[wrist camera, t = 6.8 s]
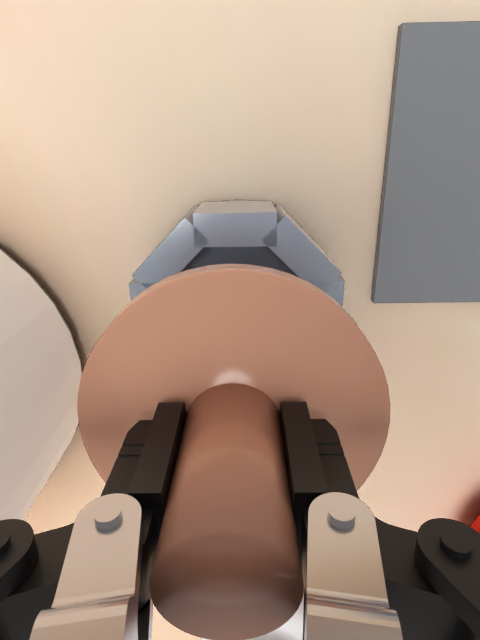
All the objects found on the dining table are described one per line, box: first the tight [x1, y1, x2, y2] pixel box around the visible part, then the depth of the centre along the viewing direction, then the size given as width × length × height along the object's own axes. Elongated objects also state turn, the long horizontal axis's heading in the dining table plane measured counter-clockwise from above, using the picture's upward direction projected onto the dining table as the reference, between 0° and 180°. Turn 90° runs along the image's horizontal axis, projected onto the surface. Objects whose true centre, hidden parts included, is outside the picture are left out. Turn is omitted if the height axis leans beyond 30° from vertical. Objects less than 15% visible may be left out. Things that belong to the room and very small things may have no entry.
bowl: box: [129, 200, 344, 306], centre depth 23 cm, size 10×10×6 cm
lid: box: [77, 264, 390, 640], centre depth 11 cm, size 9×9×6 cm
